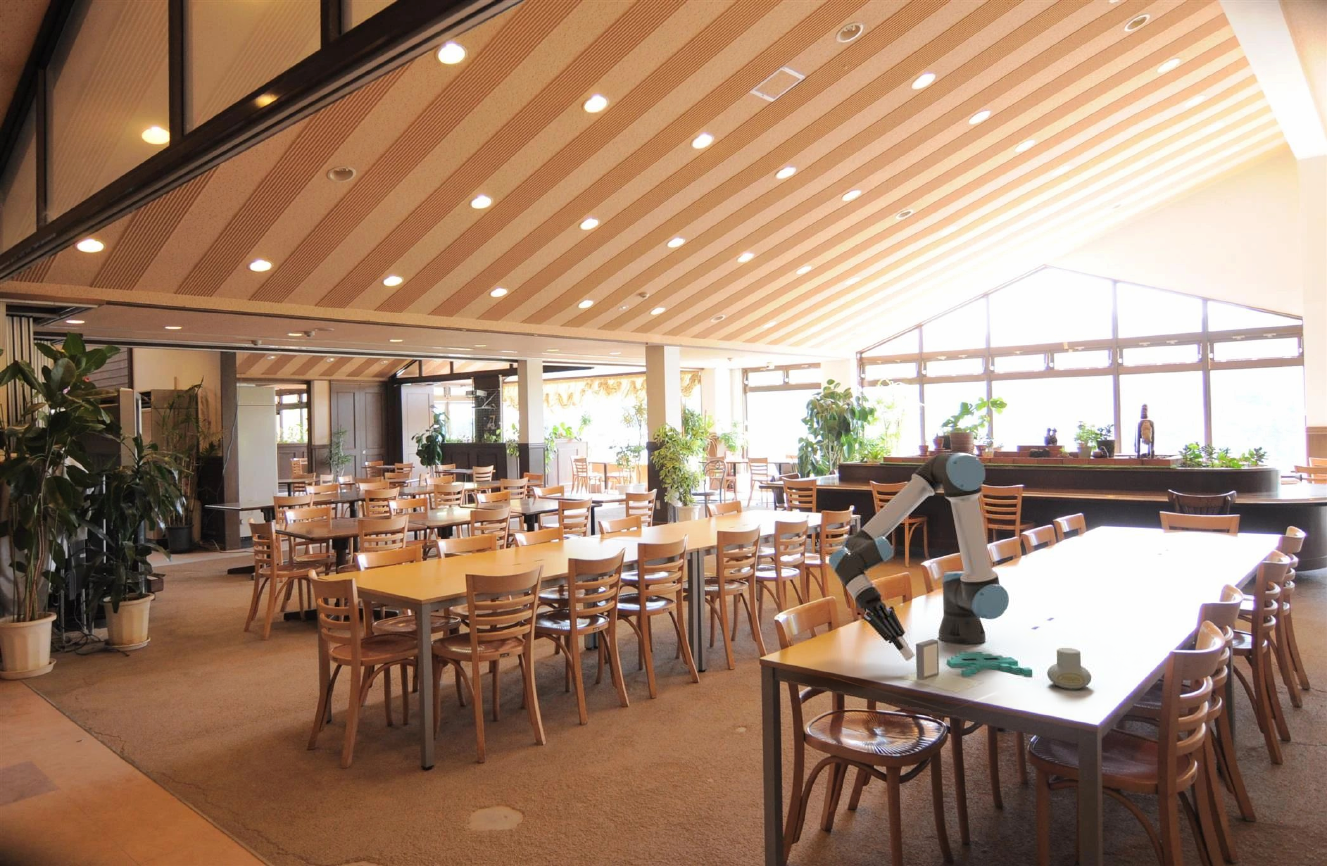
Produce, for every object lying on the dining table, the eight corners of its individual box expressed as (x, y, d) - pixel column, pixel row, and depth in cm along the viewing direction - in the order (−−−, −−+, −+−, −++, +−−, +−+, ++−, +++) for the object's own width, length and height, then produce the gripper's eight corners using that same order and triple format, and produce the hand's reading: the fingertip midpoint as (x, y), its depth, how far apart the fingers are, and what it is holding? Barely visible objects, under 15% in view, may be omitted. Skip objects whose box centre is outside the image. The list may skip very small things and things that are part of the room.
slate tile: (916, 678, 236) (915, 643, 236) (932, 673, 241) (932, 639, 241) (922, 680, 234) (922, 645, 234) (939, 674, 239) (938, 640, 239)
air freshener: (1048, 688, 225) (1048, 652, 225) (1046, 680, 233) (1045, 645, 233) (1093, 692, 221) (1092, 655, 221) (1089, 683, 229) (1088, 648, 229)
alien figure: (1032, 677, 238) (1001, 658, 258) (1032, 669, 238) (1001, 651, 258) (964, 679, 237) (938, 660, 257) (964, 671, 237) (938, 653, 257)
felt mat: (901, 678, 237) (901, 677, 237) (927, 670, 245) (927, 668, 245) (956, 693, 223) (956, 692, 223) (983, 684, 231) (983, 682, 231)
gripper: (870, 597, 260) (916, 660, 247) (843, 603, 252) (889, 669, 239) (884, 582, 256) (931, 646, 243) (857, 588, 248) (904, 654, 235)
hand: (910, 657), depth 241 cm, fingers closed
